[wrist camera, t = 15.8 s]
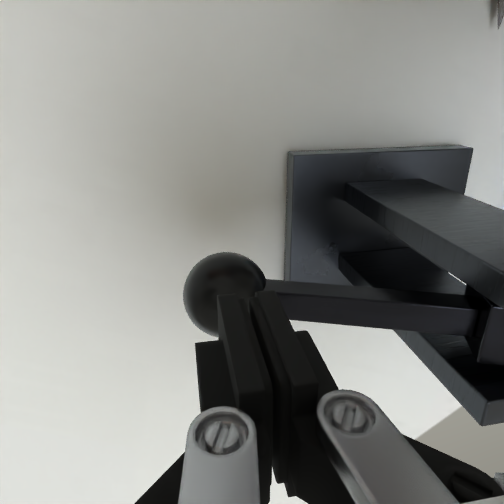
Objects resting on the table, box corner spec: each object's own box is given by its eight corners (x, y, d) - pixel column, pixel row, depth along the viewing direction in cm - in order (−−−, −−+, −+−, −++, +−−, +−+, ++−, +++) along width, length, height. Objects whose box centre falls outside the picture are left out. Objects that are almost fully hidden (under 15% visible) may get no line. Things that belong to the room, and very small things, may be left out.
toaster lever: (200, 306, 18) (174, 350, 15) (196, 237, 16) (166, 270, 14) (530, 336, 15) (575, 396, 13) (554, 259, 14) (610, 306, 11)
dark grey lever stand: (283, 288, 24) (390, 477, 13) (287, 151, 21) (433, 237, 10) (435, 273, 26) (651, 428, 14) (459, 144, 23) (760, 211, 11)
